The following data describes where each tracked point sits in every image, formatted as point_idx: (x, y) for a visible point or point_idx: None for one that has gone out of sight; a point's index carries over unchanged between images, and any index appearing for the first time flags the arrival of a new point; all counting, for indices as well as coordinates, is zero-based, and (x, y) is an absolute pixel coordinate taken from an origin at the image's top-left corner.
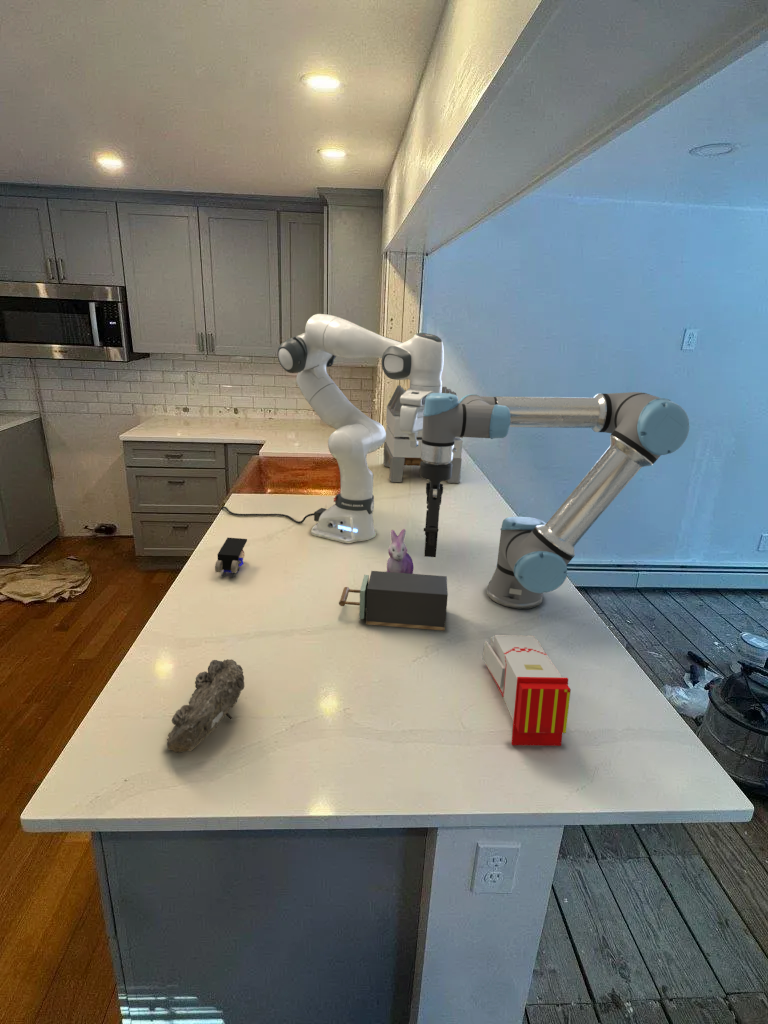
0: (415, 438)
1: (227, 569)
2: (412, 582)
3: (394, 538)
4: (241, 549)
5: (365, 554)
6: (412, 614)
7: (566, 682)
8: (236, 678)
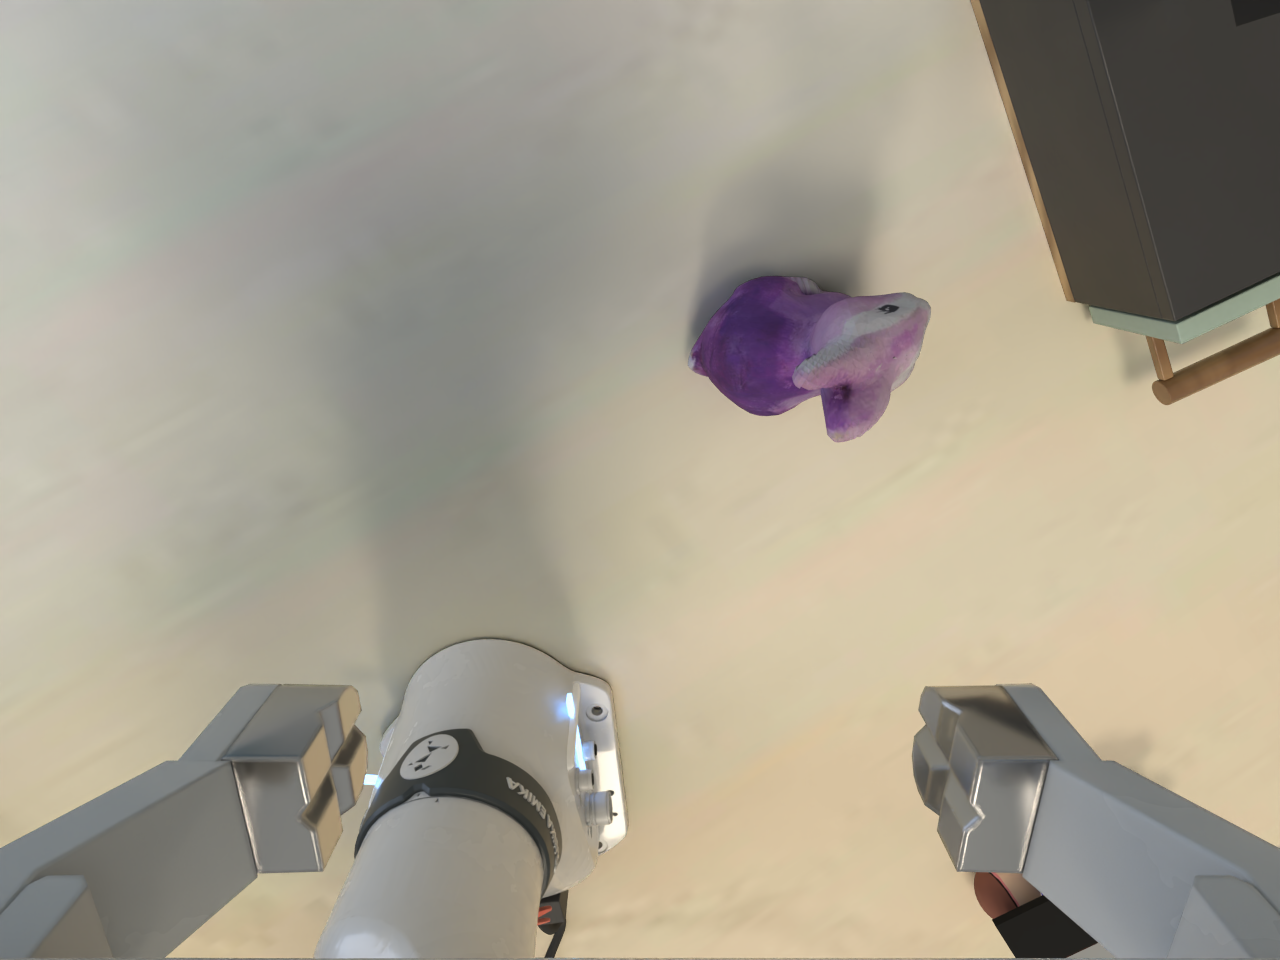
0: (1217, 819)
1: None
2: (1228, 51)
3: (886, 385)
4: None
5: (653, 572)
6: None
7: None
8: None
